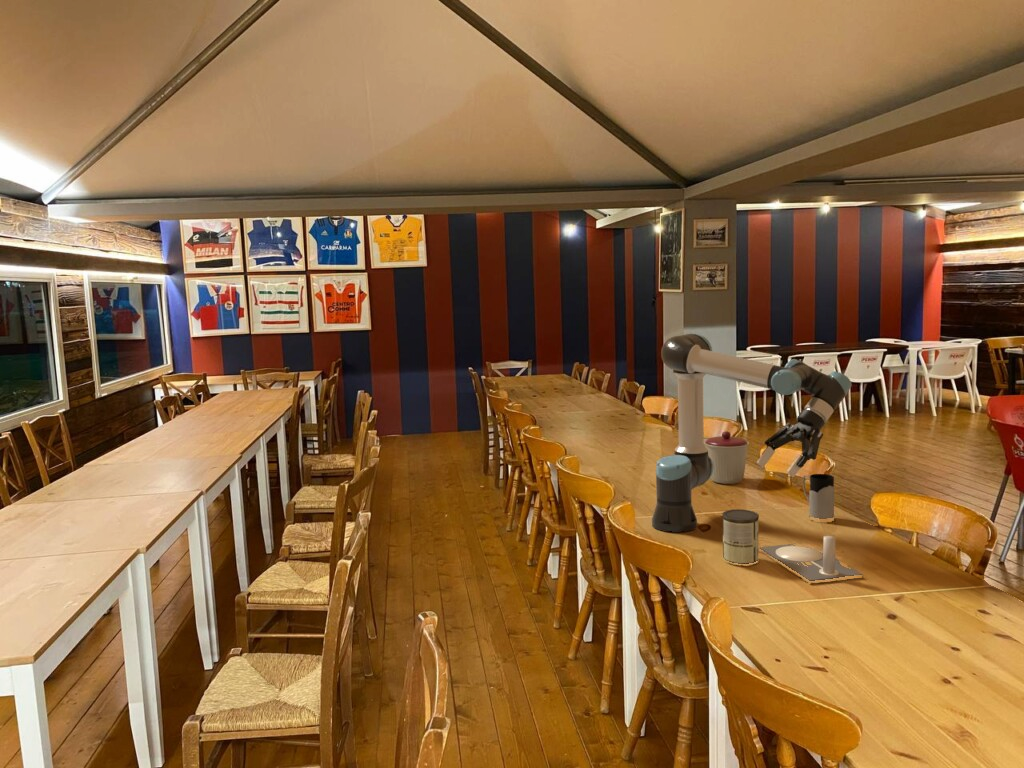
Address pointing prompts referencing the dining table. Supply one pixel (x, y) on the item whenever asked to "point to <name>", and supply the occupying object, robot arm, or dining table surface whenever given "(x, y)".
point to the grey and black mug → (820, 495)
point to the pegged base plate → (811, 560)
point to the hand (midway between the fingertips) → (774, 469)
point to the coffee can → (740, 536)
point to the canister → (727, 458)
